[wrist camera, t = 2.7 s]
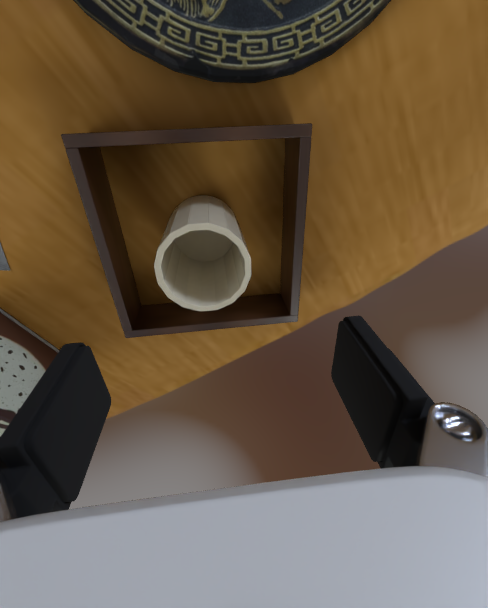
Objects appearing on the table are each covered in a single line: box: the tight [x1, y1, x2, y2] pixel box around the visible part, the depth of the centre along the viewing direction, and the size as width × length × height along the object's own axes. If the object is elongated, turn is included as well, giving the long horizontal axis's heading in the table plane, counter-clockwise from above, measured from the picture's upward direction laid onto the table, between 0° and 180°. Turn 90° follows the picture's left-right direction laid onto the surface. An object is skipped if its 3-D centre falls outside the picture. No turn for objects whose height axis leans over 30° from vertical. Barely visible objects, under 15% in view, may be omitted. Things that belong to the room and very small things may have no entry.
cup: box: [154, 195, 251, 311], centre depth 23 cm, size 6×6×9 cm
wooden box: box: [61, 124, 312, 338], centre depth 25 cm, size 17×17×4 cm
